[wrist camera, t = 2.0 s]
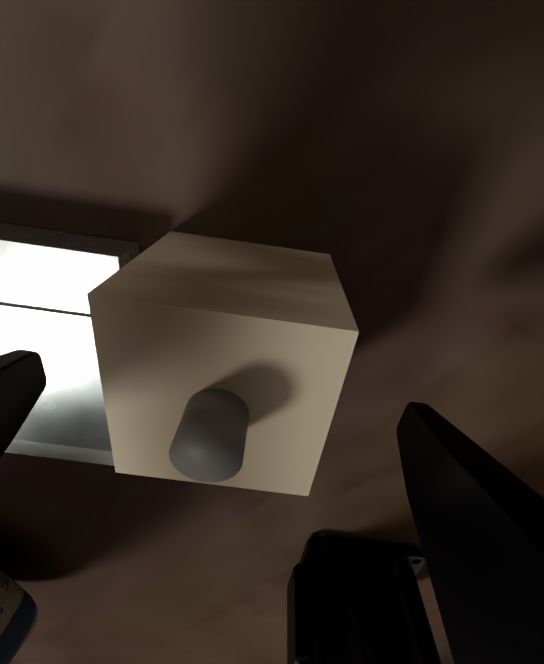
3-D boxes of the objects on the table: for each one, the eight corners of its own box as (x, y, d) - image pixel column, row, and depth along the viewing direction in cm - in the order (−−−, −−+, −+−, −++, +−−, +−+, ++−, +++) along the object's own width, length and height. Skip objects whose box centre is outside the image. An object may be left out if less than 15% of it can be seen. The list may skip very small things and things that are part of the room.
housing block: (329, 253, 10) (373, 370, 5) (301, 377, 13) (311, 545, 8) (171, 230, 10) (43, 325, 5) (174, 360, 13) (90, 518, 7)
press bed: (139, 243, 10) (116, 258, 9) (152, 440, 15) (138, 470, 13) (-88, 210, 10) (-148, 220, 9) (-5, 420, 15) (-36, 449, 13)
